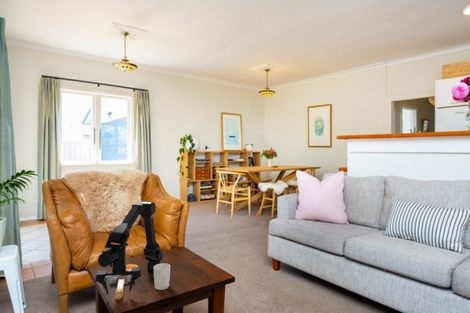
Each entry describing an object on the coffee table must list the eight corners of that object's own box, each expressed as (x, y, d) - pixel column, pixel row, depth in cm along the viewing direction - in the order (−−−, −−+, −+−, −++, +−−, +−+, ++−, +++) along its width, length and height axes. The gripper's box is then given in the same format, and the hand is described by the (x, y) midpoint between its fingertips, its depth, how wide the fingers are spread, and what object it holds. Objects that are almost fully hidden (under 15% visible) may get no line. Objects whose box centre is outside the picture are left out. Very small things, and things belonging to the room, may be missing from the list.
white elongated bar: (118, 284, 148) (118, 277, 148) (125, 283, 149) (125, 277, 149) (114, 300, 133) (114, 292, 133) (122, 299, 134) (122, 292, 134)
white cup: (155, 283, 150) (155, 263, 150) (171, 282, 151) (171, 263, 150) (152, 290, 142) (152, 269, 142) (169, 290, 143) (169, 269, 142)
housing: (134, 275, 158) (134, 267, 158) (133, 281, 152) (133, 271, 152) (111, 278, 155) (111, 269, 155) (109, 283, 149) (109, 274, 149)
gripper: (141, 250, 145) (141, 282, 145) (98, 254, 140) (99, 287, 140) (140, 258, 134) (140, 293, 135) (95, 263, 129) (95, 299, 129)
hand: (119, 292), depth 135 cm, fingers open, 9 cm apart
